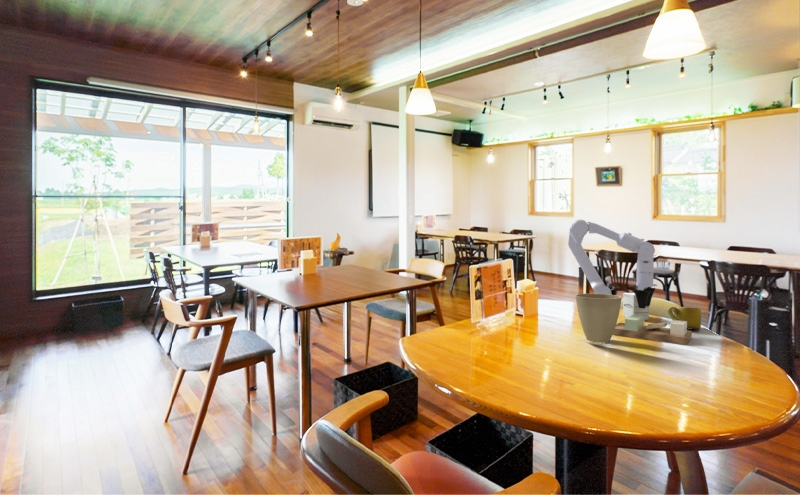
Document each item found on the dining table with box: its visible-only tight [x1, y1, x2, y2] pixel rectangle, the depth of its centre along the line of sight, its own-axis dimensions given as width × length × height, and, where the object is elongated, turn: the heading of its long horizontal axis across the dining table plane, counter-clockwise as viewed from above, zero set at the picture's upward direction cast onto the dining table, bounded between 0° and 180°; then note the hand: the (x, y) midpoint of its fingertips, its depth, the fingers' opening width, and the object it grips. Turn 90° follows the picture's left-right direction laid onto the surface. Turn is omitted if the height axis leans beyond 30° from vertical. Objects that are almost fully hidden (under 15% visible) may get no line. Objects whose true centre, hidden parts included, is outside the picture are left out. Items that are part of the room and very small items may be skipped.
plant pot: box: [575, 293, 623, 344], centre depth 152 cm, size 15×15×16 cm
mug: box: [667, 306, 702, 331], centre depth 169 cm, size 12×10×10 cm
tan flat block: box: [645, 321, 668, 329], centre depth 158 cm, size 6×5×1 cm
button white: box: [669, 320, 688, 336], centre depth 153 cm, size 4×8×4 cm, turn 140°
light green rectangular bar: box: [624, 315, 645, 331], centre depth 162 cm, size 4×12×4 cm, turn 140°
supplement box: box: [622, 292, 650, 321], centre depth 185 cm, size 7×7×13 cm
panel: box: [612, 322, 693, 346], centre depth 160 cm, size 24×14×4 cm, turn 50°
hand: (644, 307), depth 169 cm, fingers open, 7 cm apart
